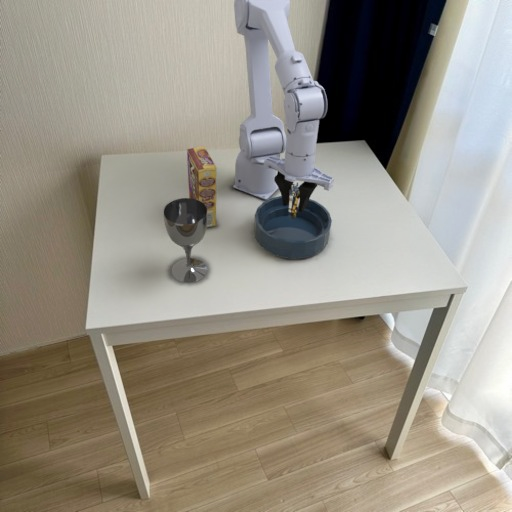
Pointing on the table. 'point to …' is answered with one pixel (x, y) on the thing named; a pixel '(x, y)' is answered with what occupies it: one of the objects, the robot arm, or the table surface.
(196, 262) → the wine glass
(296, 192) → the ring
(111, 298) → the table surface
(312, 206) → the bowl
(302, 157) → the robot arm
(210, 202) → the candy box
